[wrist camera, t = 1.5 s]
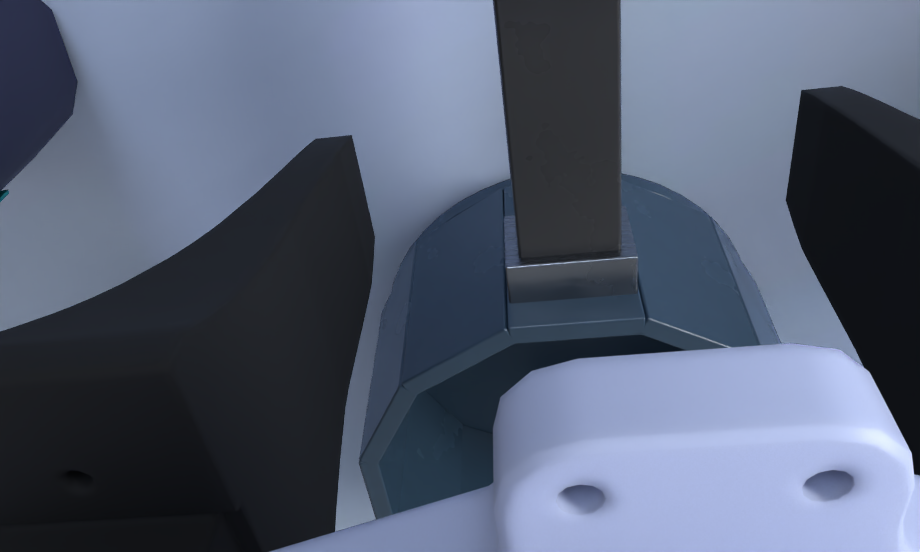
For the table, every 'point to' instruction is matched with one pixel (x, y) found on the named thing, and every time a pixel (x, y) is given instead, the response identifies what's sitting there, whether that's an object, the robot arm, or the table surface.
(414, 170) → the table surface
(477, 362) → the saucepan
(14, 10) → the speaker
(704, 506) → the robot arm
